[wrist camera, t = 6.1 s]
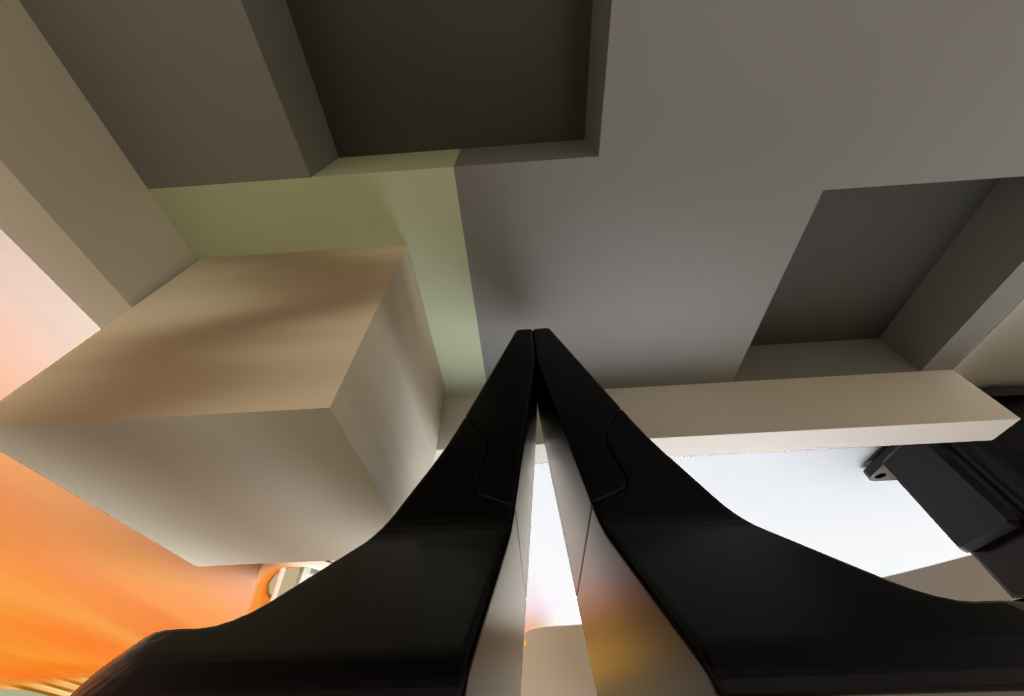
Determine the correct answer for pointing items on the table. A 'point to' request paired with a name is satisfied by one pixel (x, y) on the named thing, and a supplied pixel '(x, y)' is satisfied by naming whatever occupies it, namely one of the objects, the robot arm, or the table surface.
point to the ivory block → (246, 407)
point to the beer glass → (281, 580)
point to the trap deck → (565, 186)
